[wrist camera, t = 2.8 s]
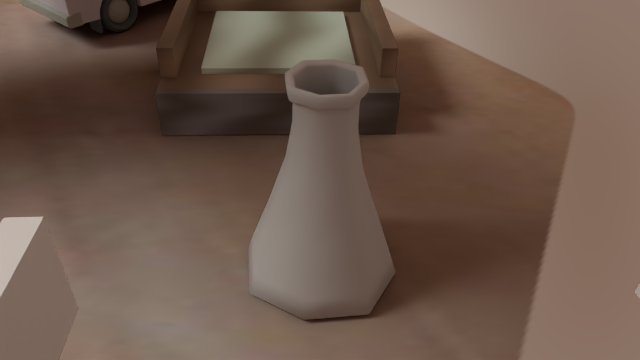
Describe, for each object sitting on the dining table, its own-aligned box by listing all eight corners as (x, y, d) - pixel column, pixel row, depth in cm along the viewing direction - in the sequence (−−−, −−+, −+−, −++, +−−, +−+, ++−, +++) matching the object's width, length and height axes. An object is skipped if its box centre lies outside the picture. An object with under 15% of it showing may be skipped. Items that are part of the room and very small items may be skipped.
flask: (401, 226, 29) (428, 47, 23) (387, 339, 23) (418, 141, 17) (268, 205, 30) (260, 29, 24) (223, 309, 24) (198, 113, 18)
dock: (162, 135, 35) (147, 54, 31) (192, 41, 46) (184, -25, 43) (395, 133, 36) (405, 55, 32) (367, 41, 47) (373, -23, 44)
